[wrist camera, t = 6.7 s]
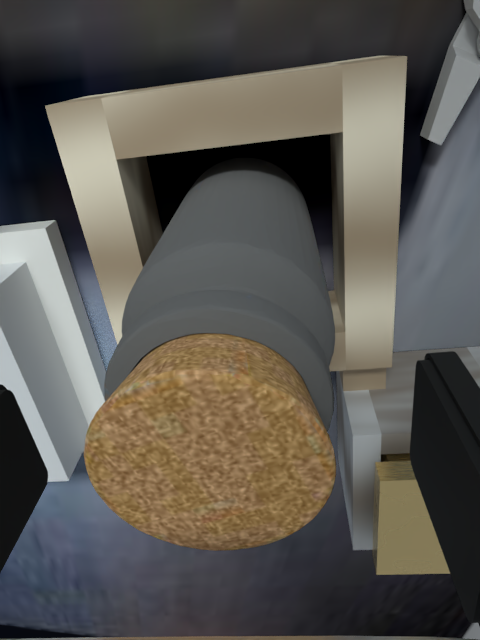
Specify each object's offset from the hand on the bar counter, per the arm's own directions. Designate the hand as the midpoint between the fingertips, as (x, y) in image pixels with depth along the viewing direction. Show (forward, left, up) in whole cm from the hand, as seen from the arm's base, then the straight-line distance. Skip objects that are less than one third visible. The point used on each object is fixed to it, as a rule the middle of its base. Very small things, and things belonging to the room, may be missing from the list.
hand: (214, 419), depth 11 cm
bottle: (-1, 0, -13) cm, 13 cm away
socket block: (+4, +3, -13) cm, 14 cm away
